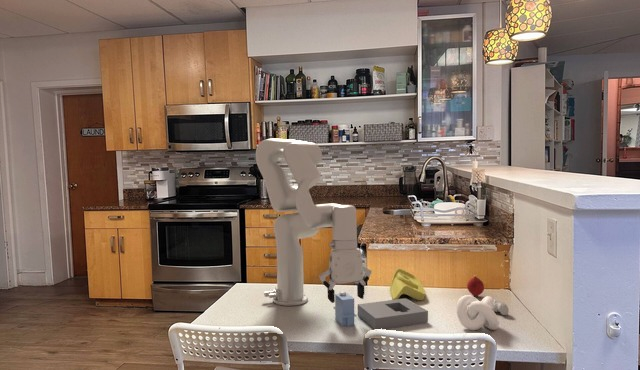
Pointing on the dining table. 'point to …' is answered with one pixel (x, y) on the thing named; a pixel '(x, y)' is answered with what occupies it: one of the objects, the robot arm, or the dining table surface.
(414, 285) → the plastic component
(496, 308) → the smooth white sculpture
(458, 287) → the dining table surface
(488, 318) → the white knot
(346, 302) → the block
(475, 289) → the onion
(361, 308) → the grey flat block
